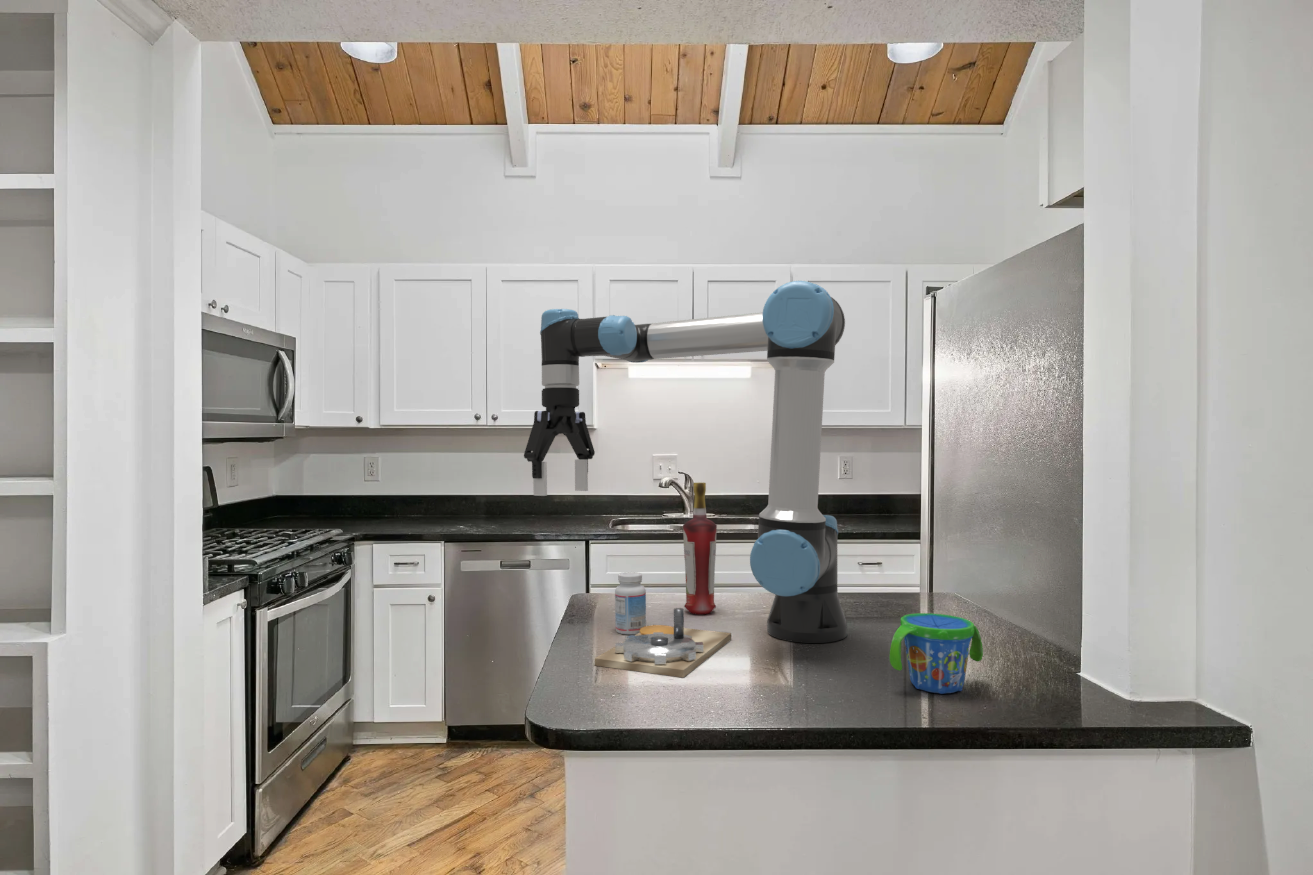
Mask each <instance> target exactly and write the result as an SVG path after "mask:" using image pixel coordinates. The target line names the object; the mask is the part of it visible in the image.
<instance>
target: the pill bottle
mask: <svg viewBox="0 0 1313 875" xmlns="http://www.w3.org/2000/svg"><path fill="white" fill-rule="evenodd" d="M617 576H618V583H619V584H618V585H617V586H616V587H615V589H614V605H615V607H614V611H615V612H614V613H615V614H614V615H615V618H614V619H615V622H614V623H615V632H617V633H618V634H620V635H628V636H630V635H636V634H638V633H640V628H642V627H645V626H647V593H646V592H647V589H646V588H645V586H644V585H643V584H641V583H642V582H643V574H642V573H641V572H638V571H637V572H636V571H626V572H621V573H619V574H618V575H617Z"/></svg>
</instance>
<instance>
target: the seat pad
mask: <svg viewBox="0 0 1313 875" xmlns="http://www.w3.org/2000/svg"><path fill="white" fill-rule="evenodd" d="M653 632H663V634H673V635H674V626H671V625H667V624H665V625H664V624H651V625H646V626H645V627H642V628H640V633H641V634H642V635H646V634H653Z"/></svg>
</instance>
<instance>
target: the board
mask: <svg viewBox="0 0 1313 875" xmlns="http://www.w3.org/2000/svg"><path fill="white" fill-rule="evenodd" d="M684 634H685V635H689V636H692V640H694V641H695V642H703V652H696V659H693V660H690V661H686V660H680V661H674V662H666V664H655V662H644V661H638V660H635V661H632V662H631V661H628V660H624V653H615V646H614V647H612V648H610V649H608V650H606V651H605V652H602V654H599V655H598V656H596V657H594V666H597V667H605V668H611V669H618V670H624V671H633V672H641V673H647V674H654V675H655V674H656V675H660V676H661V675H662V676H668V677H669V676H670V677H677V678H685V677H686V676H688V675H689V674H690V673H691V672H693V671H694V670H695V669H696V668H698V667H699V666H700V665H702V664H703V663H704V662H705V661H706V660H707V659H709V658H710V657H711V656H712V655H714V654H715V653H716V652H718V651H719V650H720V649H721V648H722V647H724V646H725V645H727V643H729V642H730V641H731V640H732V633H731V632H724V631H716V630H715V631H714V630H705V629H697V628H690V627H689V628H687V627H684ZM634 635H635V636H639V635H642V634H641V633H638V634H634ZM623 642H624V641H622V642H621V643H623Z"/></svg>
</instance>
